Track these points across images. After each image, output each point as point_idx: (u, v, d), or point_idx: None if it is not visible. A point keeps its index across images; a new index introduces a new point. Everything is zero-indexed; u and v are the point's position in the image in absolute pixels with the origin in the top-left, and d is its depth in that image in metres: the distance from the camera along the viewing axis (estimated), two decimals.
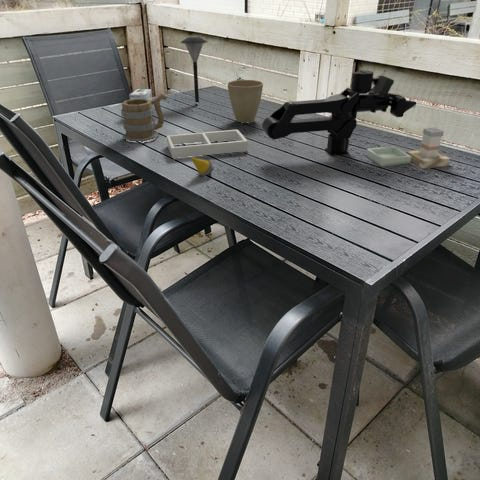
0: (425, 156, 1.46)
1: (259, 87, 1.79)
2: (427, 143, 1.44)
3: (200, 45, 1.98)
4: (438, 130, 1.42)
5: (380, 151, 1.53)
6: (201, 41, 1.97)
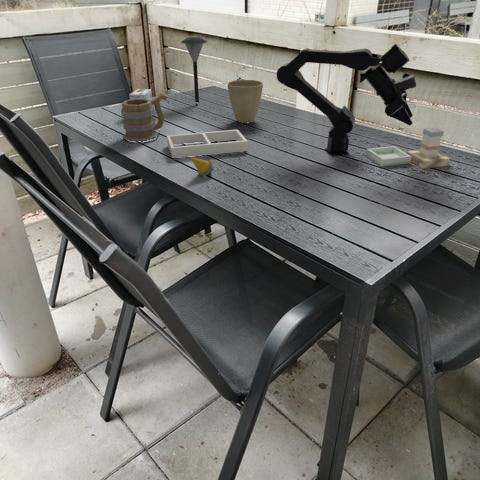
0: (425, 156, 1.46)
1: (259, 87, 1.79)
2: (427, 143, 1.44)
3: (200, 45, 1.98)
4: (438, 130, 1.42)
5: (380, 151, 1.53)
6: (201, 41, 1.97)
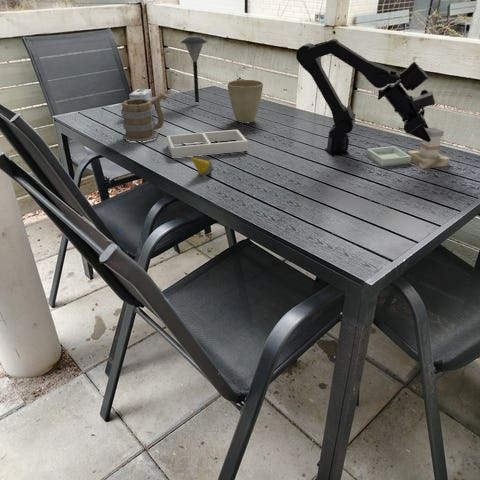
0: (425, 156, 1.46)
1: (259, 87, 1.79)
2: (427, 143, 1.44)
3: (200, 45, 1.98)
4: (438, 130, 1.42)
5: (380, 151, 1.53)
6: (201, 41, 1.97)
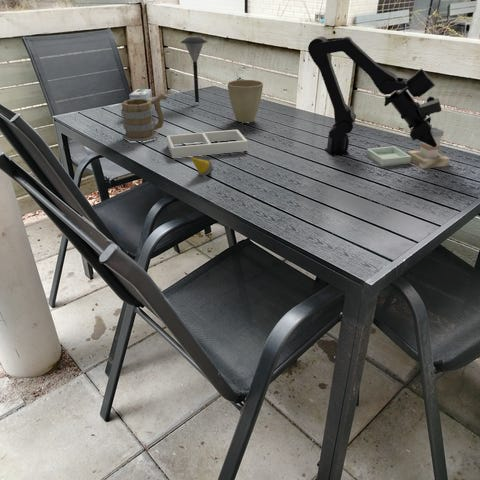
0: (425, 156, 1.46)
1: (259, 87, 1.79)
2: None
3: (200, 45, 1.98)
4: (438, 130, 1.42)
5: (380, 151, 1.53)
6: (201, 41, 1.97)
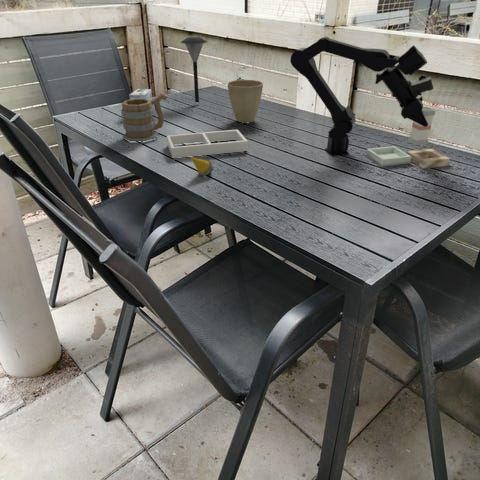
0: (416, 136, 1.43)
1: (259, 87, 1.79)
2: None
3: (200, 45, 1.98)
4: (430, 109, 1.40)
5: (380, 151, 1.53)
6: (201, 41, 1.97)
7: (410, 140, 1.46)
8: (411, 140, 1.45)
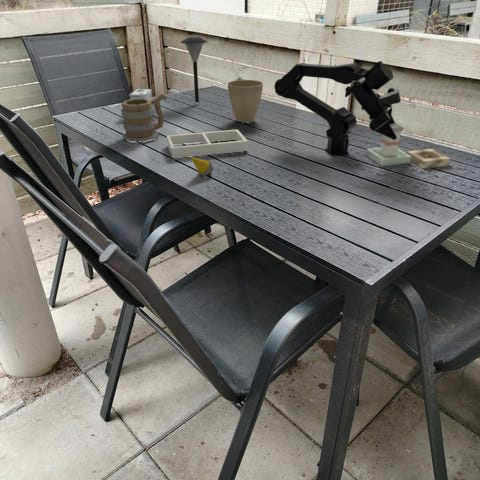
0: (385, 151, 1.47)
1: (259, 87, 1.79)
2: (387, 138, 1.45)
3: (200, 45, 1.98)
4: (397, 126, 1.44)
5: None
6: (201, 41, 1.97)
7: (380, 155, 1.50)
8: (381, 155, 1.50)
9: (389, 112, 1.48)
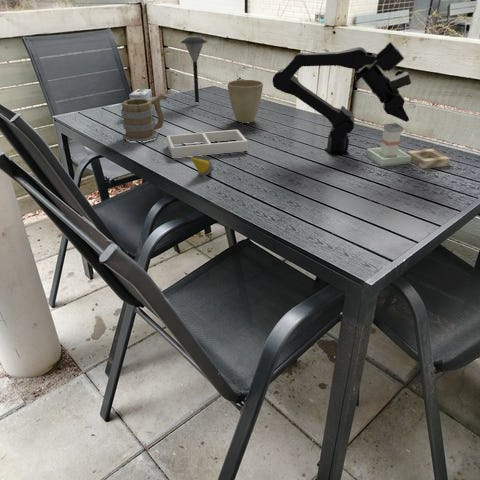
0: (385, 151, 1.47)
1: (259, 87, 1.79)
2: (387, 138, 1.45)
3: (200, 45, 1.98)
4: (397, 126, 1.44)
5: None
6: (201, 41, 1.97)
7: (380, 155, 1.50)
8: (381, 155, 1.50)
9: None
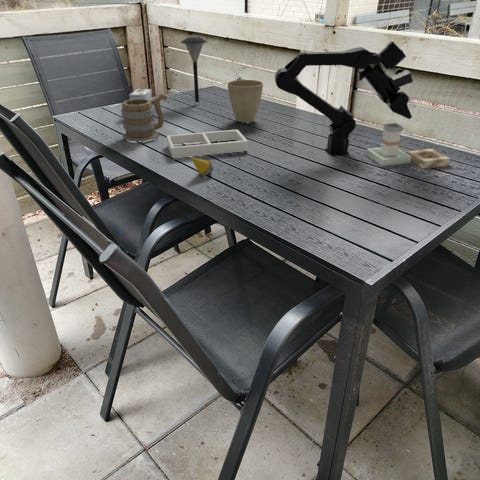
0: (385, 151, 1.47)
1: (259, 87, 1.79)
2: (387, 138, 1.45)
3: (200, 45, 1.98)
4: (397, 126, 1.44)
5: None
6: (201, 41, 1.97)
7: (380, 155, 1.50)
8: (381, 155, 1.50)
9: None
